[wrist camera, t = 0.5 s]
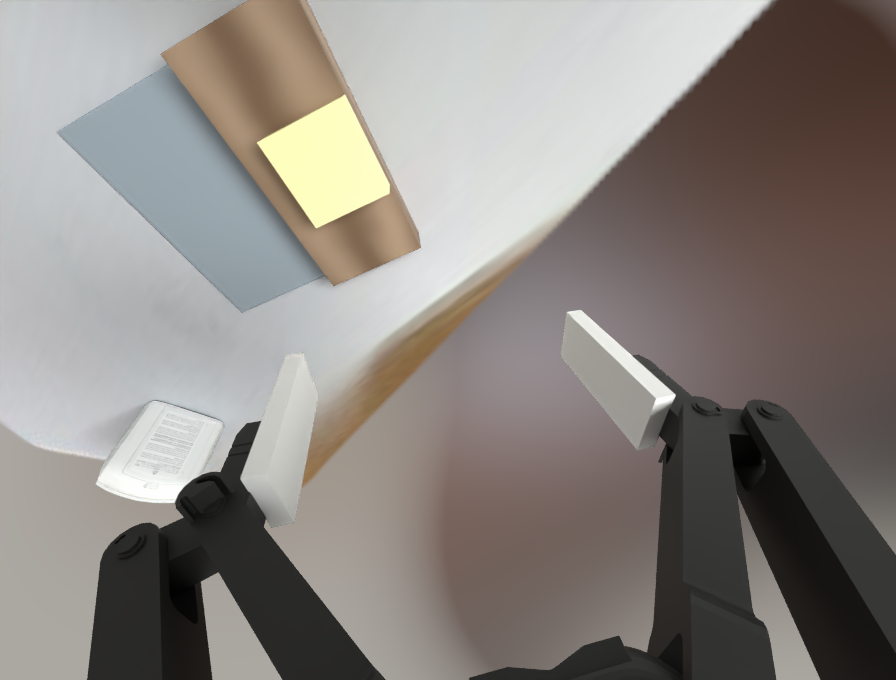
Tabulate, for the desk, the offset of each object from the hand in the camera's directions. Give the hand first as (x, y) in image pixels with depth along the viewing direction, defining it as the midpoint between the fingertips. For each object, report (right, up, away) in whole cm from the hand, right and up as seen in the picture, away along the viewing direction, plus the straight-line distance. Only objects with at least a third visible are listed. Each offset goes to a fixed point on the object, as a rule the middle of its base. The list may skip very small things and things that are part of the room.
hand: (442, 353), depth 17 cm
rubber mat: (-22, +13, +16) cm, 30 cm away
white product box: (-38, -10, +34) cm, 52 cm away
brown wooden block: (-11, +17, +14) cm, 25 cm away
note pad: (-9, +15, +11) cm, 21 cm away
